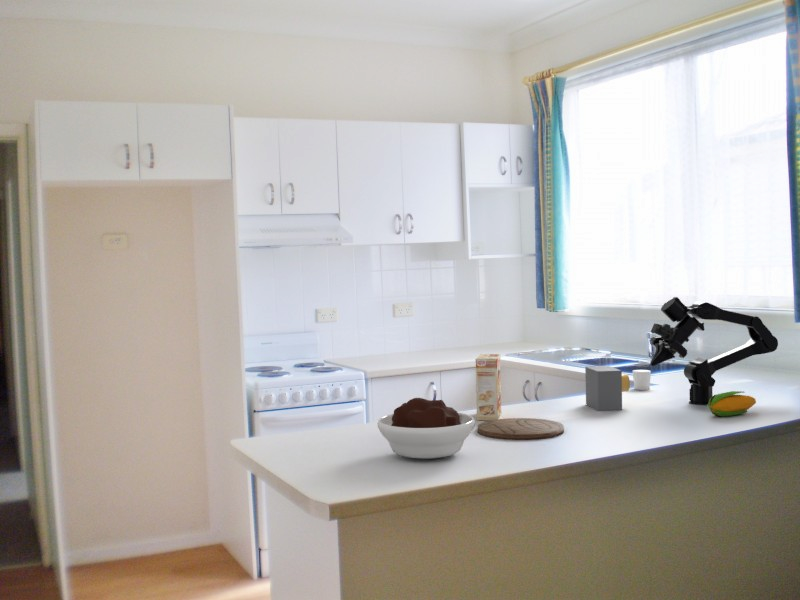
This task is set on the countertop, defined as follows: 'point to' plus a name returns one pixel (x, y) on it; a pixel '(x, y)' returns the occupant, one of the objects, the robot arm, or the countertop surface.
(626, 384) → the button
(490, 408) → the coffeecake box
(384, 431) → the bowl of chocolate pudding
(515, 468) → the countertop surface
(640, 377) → the shot glass
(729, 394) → the corn
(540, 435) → the trivet
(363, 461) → the countertop surface
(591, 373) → the block
